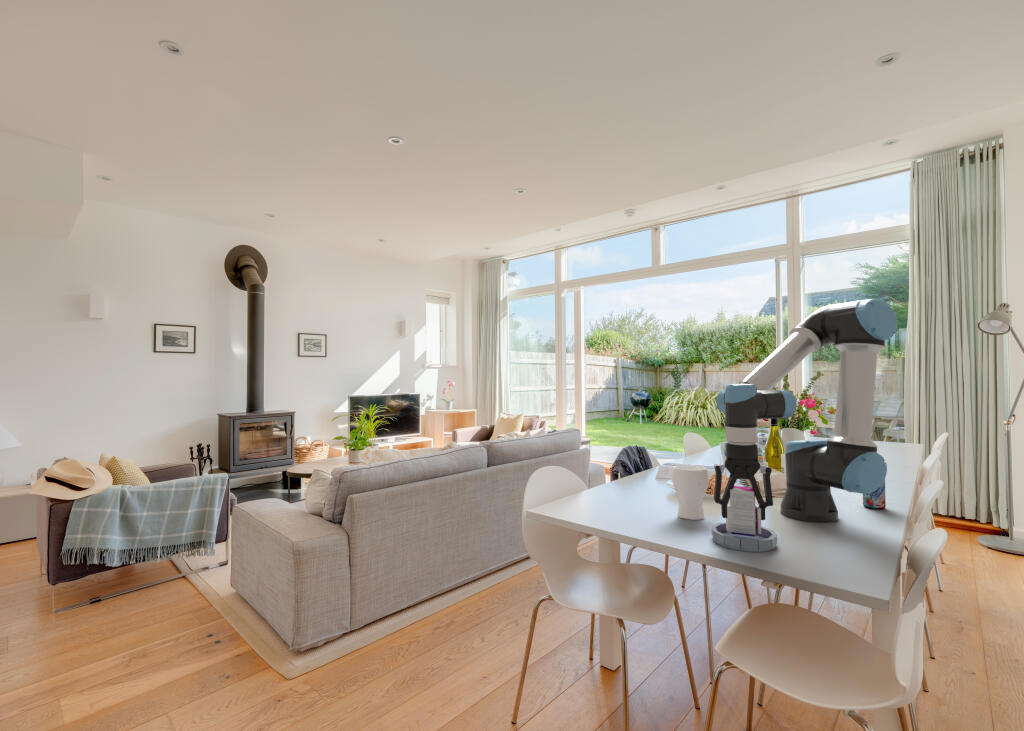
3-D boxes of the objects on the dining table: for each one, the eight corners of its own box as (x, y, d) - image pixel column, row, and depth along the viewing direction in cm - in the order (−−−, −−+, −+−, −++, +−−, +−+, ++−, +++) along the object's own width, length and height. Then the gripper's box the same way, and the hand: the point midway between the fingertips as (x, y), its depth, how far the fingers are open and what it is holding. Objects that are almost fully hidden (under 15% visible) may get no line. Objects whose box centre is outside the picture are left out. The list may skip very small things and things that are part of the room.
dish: (767, 534, 132) (767, 524, 132) (783, 554, 118) (783, 542, 118) (708, 530, 136) (708, 520, 136) (716, 549, 122) (716, 538, 122)
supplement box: (756, 537, 123) (753, 491, 124) (730, 534, 126) (728, 489, 126) (757, 530, 128) (754, 486, 129) (732, 528, 131) (730, 485, 131)
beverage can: (863, 508, 157) (862, 461, 157) (862, 504, 162) (861, 458, 162) (886, 511, 153) (885, 463, 154) (885, 506, 158) (883, 460, 159)
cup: (712, 522, 144) (711, 471, 144) (675, 520, 146) (674, 470, 146) (705, 512, 154) (705, 464, 155) (670, 510, 156) (670, 463, 157)
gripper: (778, 441, 129) (780, 529, 128) (700, 440, 134) (702, 524, 133) (786, 445, 121) (789, 538, 121) (703, 443, 126) (705, 533, 126)
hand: (743, 531), depth 127 cm, fingers closed on supplement box, 6 cm apart
